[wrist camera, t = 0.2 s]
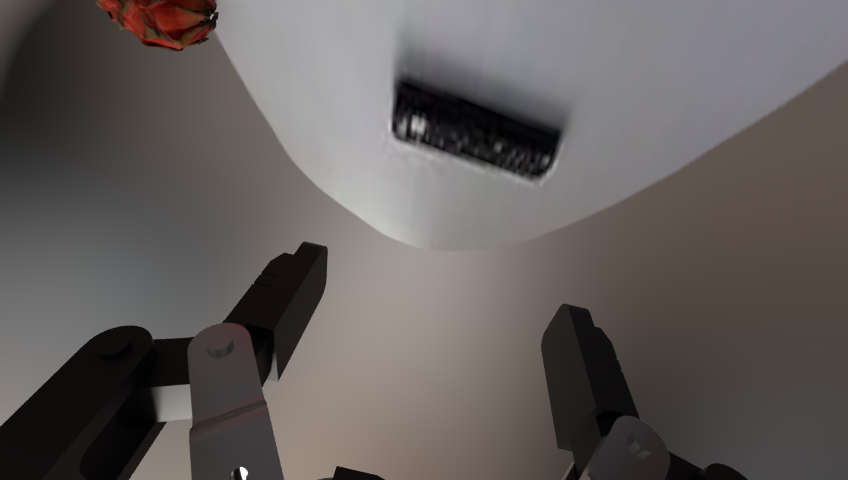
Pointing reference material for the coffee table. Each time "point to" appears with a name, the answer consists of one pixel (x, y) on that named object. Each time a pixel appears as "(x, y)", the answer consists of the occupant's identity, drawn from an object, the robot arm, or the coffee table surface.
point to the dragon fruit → (164, 20)
